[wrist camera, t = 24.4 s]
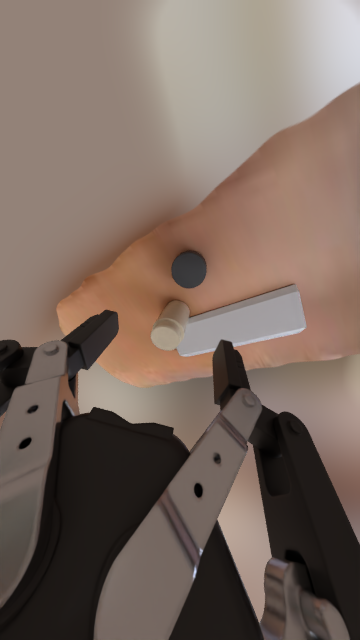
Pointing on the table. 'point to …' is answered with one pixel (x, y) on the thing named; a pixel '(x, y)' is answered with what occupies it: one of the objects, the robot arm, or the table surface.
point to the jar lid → (189, 269)
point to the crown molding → (245, 322)
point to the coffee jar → (170, 326)
